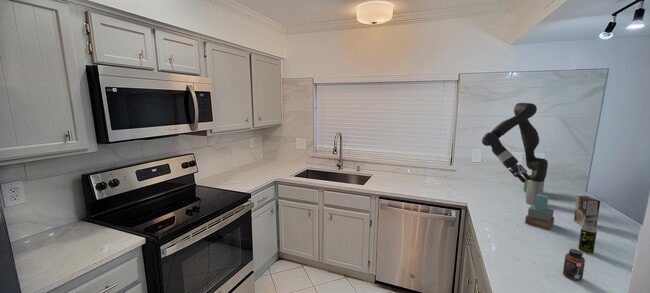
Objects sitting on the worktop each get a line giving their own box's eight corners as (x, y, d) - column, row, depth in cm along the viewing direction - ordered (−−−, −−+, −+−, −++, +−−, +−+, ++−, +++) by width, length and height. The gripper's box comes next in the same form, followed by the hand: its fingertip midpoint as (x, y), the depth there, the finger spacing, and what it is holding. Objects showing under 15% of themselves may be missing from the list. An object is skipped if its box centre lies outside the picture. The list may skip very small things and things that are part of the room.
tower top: (532, 212, 167) (532, 204, 166) (552, 216, 159) (553, 208, 158) (527, 216, 160) (528, 208, 159) (549, 221, 153) (550, 213, 152)
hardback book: (541, 197, 205) (544, 167, 202) (529, 196, 208) (532, 166, 205) (534, 191, 221) (537, 162, 218) (523, 190, 224) (526, 161, 221)
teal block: (536, 206, 162) (537, 193, 161) (546, 208, 159) (548, 195, 157) (534, 208, 159) (536, 195, 158) (545, 211, 155) (547, 197, 154)
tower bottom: (530, 219, 168) (531, 211, 167) (553, 225, 159) (554, 217, 159) (524, 224, 161) (525, 216, 160) (548, 230, 153) (549, 222, 152)
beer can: (577, 247, 134) (581, 224, 132) (593, 250, 130) (596, 227, 129) (578, 251, 130) (581, 228, 128) (594, 255, 126) (597, 231, 125)
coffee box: (597, 228, 154) (601, 201, 152) (584, 227, 156) (587, 200, 153) (585, 221, 163) (589, 195, 161) (573, 220, 164) (576, 195, 162)
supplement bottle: (582, 283, 107) (586, 256, 105) (562, 277, 111) (566, 251, 109) (582, 276, 111) (585, 250, 109) (562, 270, 115) (566, 245, 113)
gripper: (508, 157, 163) (528, 179, 156) (516, 154, 172) (537, 175, 164) (497, 164, 168) (517, 186, 161) (506, 161, 177) (525, 182, 169)
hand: (527, 180), depth 162 cm, fingers open, 8 cm apart
